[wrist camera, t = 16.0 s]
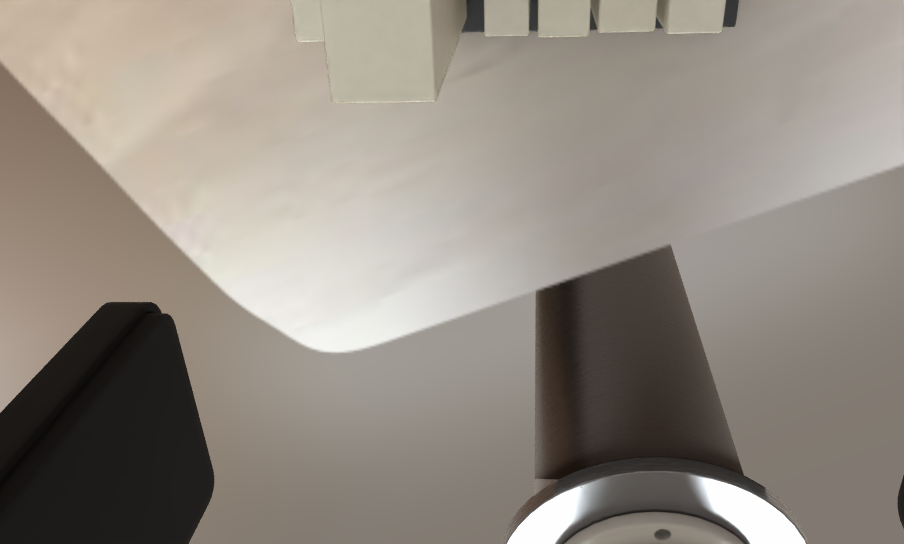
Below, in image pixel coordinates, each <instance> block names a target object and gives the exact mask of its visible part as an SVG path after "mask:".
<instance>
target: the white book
mask: <svg viewBox="0 0 904 544" xmlns="http://www.w3.org/2000/svg"><path fill="white" fill-rule="evenodd" d="M319 1H320V10H321V18H322V27H323V35H324V43H325V52H326V60H327V69H328V77H329V85H330V94H331V101H332V102H333V103H371V102H435V101H436V99H437V96H438V93H439V91H440V88H441V85H442V83H443V80H444V77H445V75H446V72H447V69H448V67H449V64H450V61H451V59H452V56H453V53H454V51H455V48H456V45H457V43H458V40H459V37H460V35H461V32H462V29H463V27H464V24H465V21H466V19H467V5H466V0H319Z"/></svg>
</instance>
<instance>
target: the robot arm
mask: <svg viewBox="0 0 904 544" xmlns="http://www.w3.org/2000/svg"><path fill="white" fill-rule="evenodd" d="M213 488H214V472H213V468H212V464H211V460H210V456H209V453H208V449H207V445H206V441H205V437H204V433H203V429H202V426H201V422H200V418H199V414H198V410H197V407H196V403H195V399H194V395H193V391H192V387H191V384H190V380H189V376H188V372H187V368H186V365H185V361H184V357H183V353H182V349H181V345H180V342H179V338H178V334H177V330H176V326H175V323H174V321H173V319H172V317H171V316H170V315H168V314H162V313H161V310H160V309H159V307H158V306H157V305H156V304H154V303H152V302H110V303H106V304H104V305H103V306H102V307H101V308H100V309H99V310H98V311H97V312H96V313H95V314H94V315H93V316H92V317H91V318H90V319H89V320H88V321H87V322H86V323H85V324H84V325H83V326H82V328H81V329H80V330H79V331H78V332H77V333H76V334H75V335H74V336H73V337H72V338H71V339H70V340H69V341H68V342H67V343H66V344H65V345H64V347H63V348H62V349H61V350H60V351H59V352H58V353H57V354H56V355H55V356H54V357H53V358H52V359H51V360H50V361H49V362H48V363H47V364H46V365H45V366H44V368H43V369H42V370H41V371H40V372H39V373H38V374H37V375H36V376H35V377H34V378H33V379H32V380H31V381H30V382H29V383H28V384H27V385H26V386H25V388H24V389H23V390H22V391H21V392H20V393H19V394H18V395H17V396H16V397H15V398H14V399H13V400H12V401H11V402H10V403H9V404H8V405H7V407H5V409H4V410H3V411H2V412H1V413H0V544H189V542H190V540H191V538H192V536H193V534H194V532H195V530H196V528H197V526H198V523H199V522H200V519H201V518H202V516H203V514H204V512H205V510H206V508H207V506H208V504H209V502H210V499H211V497H212V493H213ZM898 512H899V517H900V521H901V523H902V526H903V528H904V476H903V480H902V483H901V487H900V490H899V495H898ZM564 544H744V543H743V542H742V541H741V540H740V539H739V538H738V537H737V536H735V535H734V534H732V533H731V532H729V531H727V530H726V529H724V528H722V527H720V526H719V525H716V524H714V523H711V522H708V521H706V520H703V519H701V518H697V517H692V516H688V515H683V514H679V513H667V512H642V513H632V514H626V515H621V516H616V517H612V518H609V519H607V520H604V521H601V522H598V523H595V524H593V525H591V526H589V527H587V528H586V529H584V530H582V531H580V532H578V533H577V534H575V535H574V536H573V537H572V538H570V539H569V540H568V541H567V542H565V543H564Z"/></svg>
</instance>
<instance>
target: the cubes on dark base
mask: <svg viewBox="0 0 904 544" xmlns="http://www.w3.org/2000/svg"><path fill="white" fill-rule="evenodd" d="M738 3H739V0H466V5H467V19H466V21H465V24H464V27H463V29H462V32H485V36H527V35H529V31H538V37H587V36H589V31H590V30H598V32H600V33H608V32H652V31H654V30H655V29H656V28H664V30H665V32H666V33H667V34H700V33H720V32H721V31H722V27H734V26H735V25H736V17H737V10H738ZM291 7H292V14H293V21H294V29H295V36H296V41H297V42H322V41H324V35H323V27H322V18H321V10H320V1H319V0H291Z"/></svg>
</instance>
